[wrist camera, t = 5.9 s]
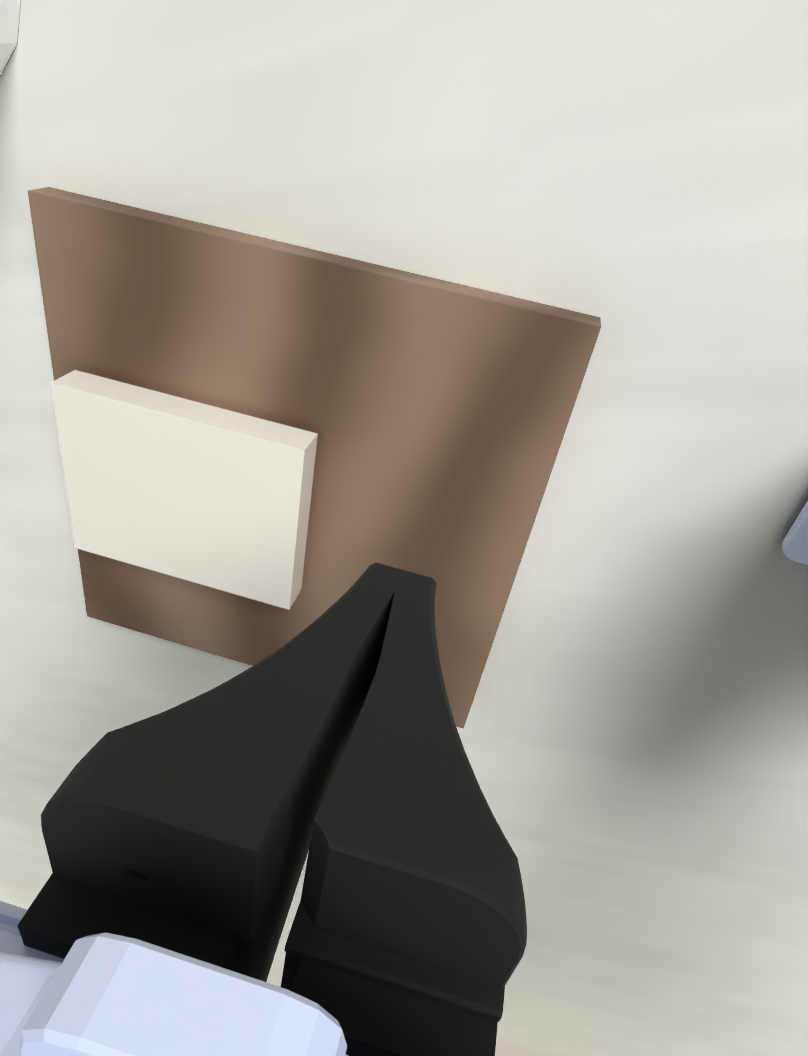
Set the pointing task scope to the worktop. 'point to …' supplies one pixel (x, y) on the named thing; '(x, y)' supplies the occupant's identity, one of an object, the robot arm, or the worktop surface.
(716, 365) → the worktop surface
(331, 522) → the walnut board
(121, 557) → the glazed tile
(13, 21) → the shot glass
